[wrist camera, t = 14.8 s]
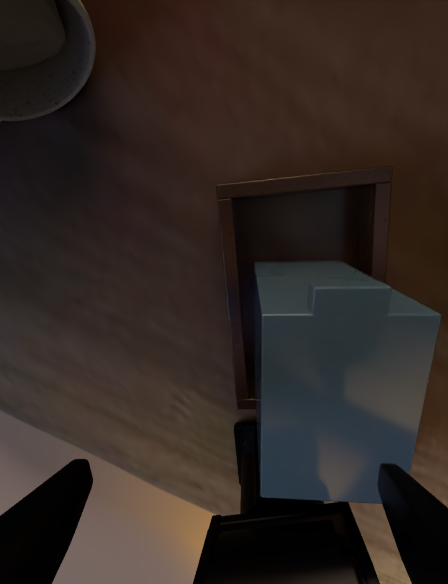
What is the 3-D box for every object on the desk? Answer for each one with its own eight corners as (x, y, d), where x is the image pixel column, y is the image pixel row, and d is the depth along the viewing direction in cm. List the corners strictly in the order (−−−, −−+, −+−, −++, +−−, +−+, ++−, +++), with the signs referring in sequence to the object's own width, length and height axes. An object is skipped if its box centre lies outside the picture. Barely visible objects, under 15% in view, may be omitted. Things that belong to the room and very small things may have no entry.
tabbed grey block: (341, 246, 18) (448, 286, 8) (328, 391, 21) (397, 542, 11) (253, 247, 18) (261, 287, 9) (254, 389, 21) (260, 533, 12)
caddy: (359, 379, 21) (377, 406, 18) (238, 383, 22) (237, 409, 19) (368, 173, 17) (393, 165, 14) (220, 188, 18) (215, 184, 15)
